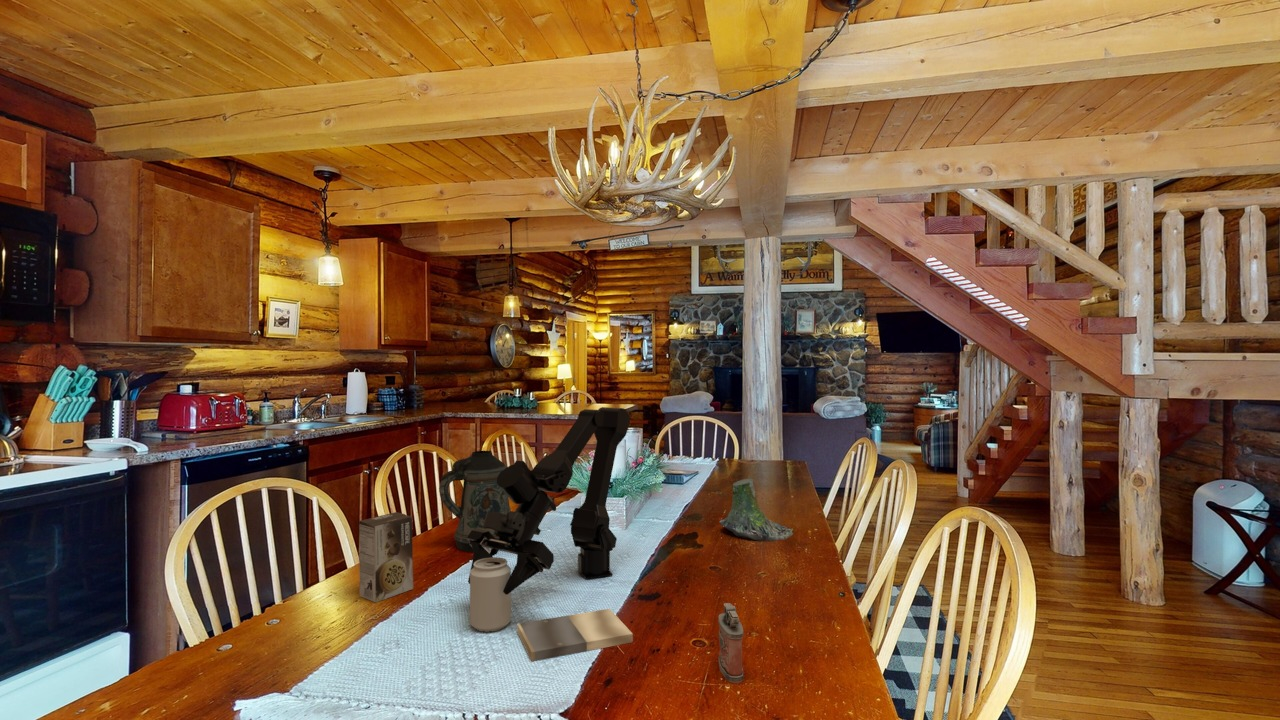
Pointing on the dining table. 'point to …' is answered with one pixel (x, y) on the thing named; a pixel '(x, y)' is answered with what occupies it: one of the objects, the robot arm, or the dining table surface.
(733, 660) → the lighter
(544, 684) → the dining table surface
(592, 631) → the subfloor panel
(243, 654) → the dining table surface
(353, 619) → the dining table surface
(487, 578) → the can
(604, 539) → the robot arm
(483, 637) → the dining table surface
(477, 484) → the beer stein
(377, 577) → the coffee box
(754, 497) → the tree stump
